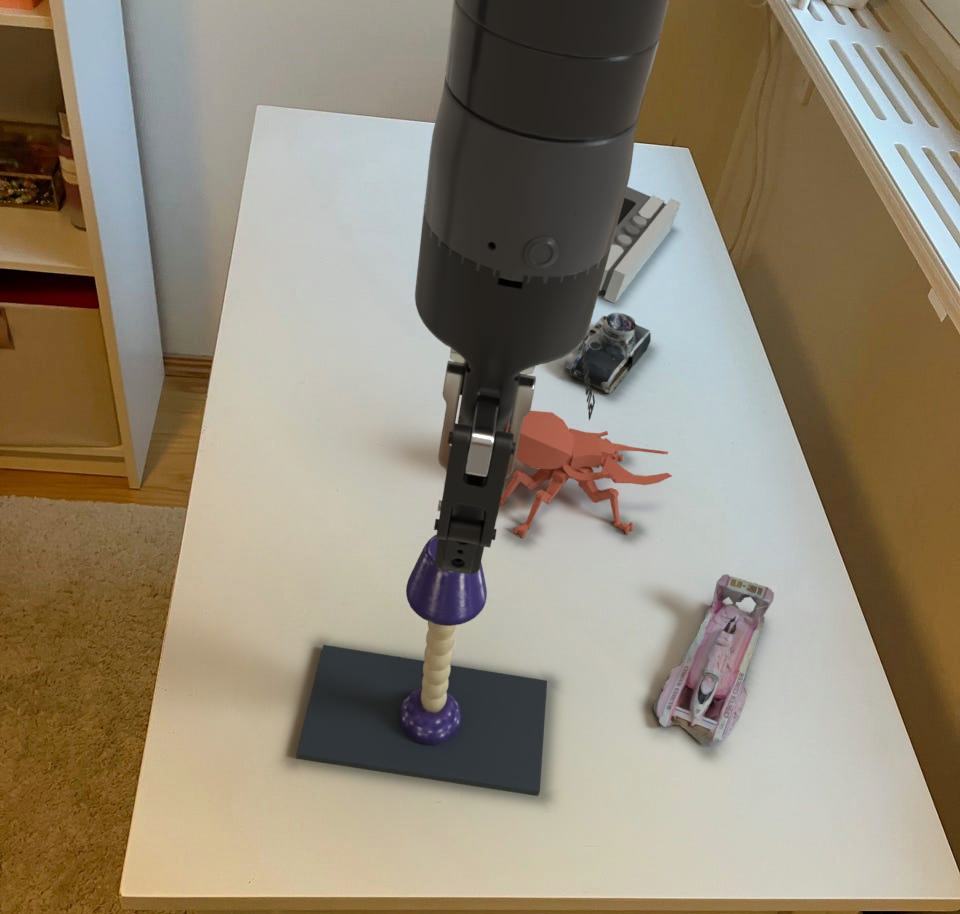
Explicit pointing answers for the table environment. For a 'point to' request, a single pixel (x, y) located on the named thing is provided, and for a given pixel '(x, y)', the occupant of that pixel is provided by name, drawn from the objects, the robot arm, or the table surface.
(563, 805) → the table surface
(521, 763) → the mat
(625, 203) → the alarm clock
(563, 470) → the beetle
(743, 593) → the boxed toy car
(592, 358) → the camera
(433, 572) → the toy lamp
